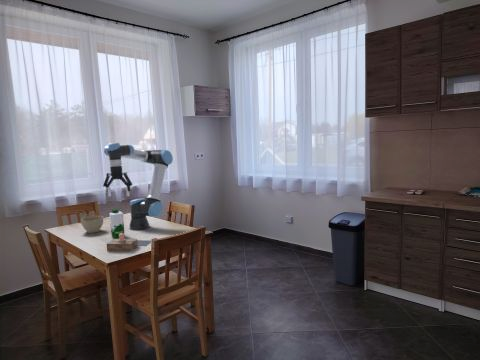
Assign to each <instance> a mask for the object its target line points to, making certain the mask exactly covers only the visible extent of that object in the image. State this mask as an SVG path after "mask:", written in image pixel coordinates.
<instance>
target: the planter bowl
mask: <svg viewBox="0 0 480 360" xmlns="http://www.w3.org/2000/svg"><path fill="white" fill-rule="evenodd" d="M80 221H81V226H82V227H83V229H84V230H85V232H86V233H88V234H94V233H98V232H100V231H101V228H102V226H103V225H104V216H102V215H91V216H85V217H82V218H81V219H80Z"/></svg>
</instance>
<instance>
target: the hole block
mask: <svg viewBox="0 0 480 360" xmlns="http://www.w3.org/2000/svg"><path fill="white" fill-rule="evenodd" d="M137 240H138V239H136V238H135V239H134V238H124V243H122V242H120V241H119V238H117V239H114V238H113V239H112V240H110V241H108V242H107V243H106V250H107V251H106V252H132V251H134V249H136V248H137V247H139V246H138V242H137Z"/></svg>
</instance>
